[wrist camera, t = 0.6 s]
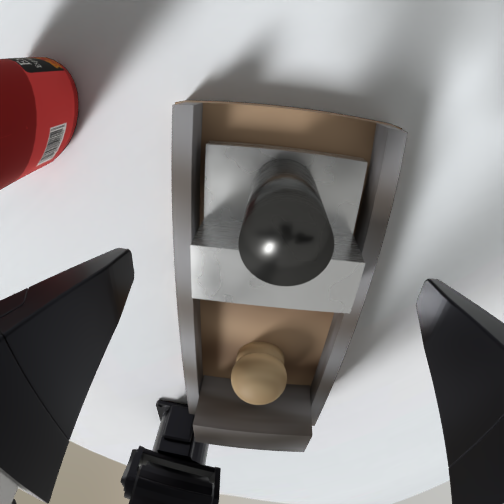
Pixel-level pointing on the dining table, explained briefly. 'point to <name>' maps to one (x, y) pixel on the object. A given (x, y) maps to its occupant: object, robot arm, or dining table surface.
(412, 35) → the dining table surface
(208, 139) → the press base
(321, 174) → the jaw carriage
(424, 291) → the robot arm
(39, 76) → the canned food
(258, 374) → the tan rounded piece
